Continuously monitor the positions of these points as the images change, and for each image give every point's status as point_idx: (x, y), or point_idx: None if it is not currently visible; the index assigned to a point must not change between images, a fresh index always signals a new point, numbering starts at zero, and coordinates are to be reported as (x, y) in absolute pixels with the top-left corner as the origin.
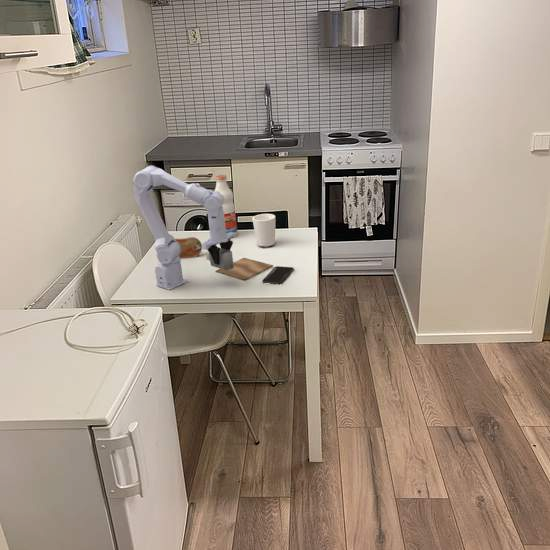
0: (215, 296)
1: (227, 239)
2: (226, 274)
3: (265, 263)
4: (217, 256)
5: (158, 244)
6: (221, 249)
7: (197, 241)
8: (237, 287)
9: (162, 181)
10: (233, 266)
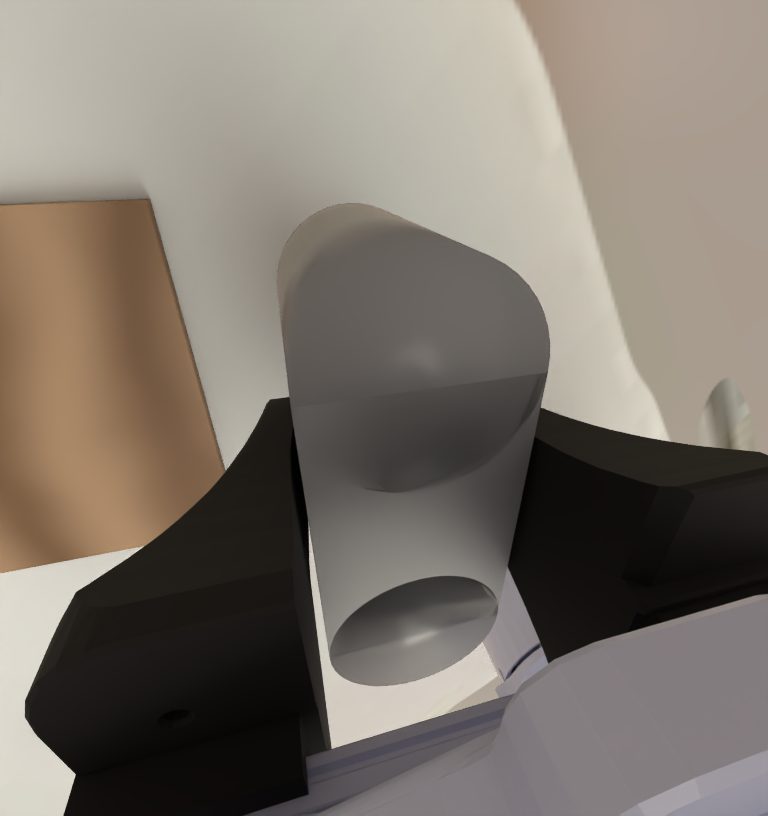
0: (545, 167)
1: (679, 809)
2: (212, 432)
3: None
4: (557, 416)
5: None
6: (359, 572)
7: None
8: (310, 133)
9: None
10: (301, 227)
